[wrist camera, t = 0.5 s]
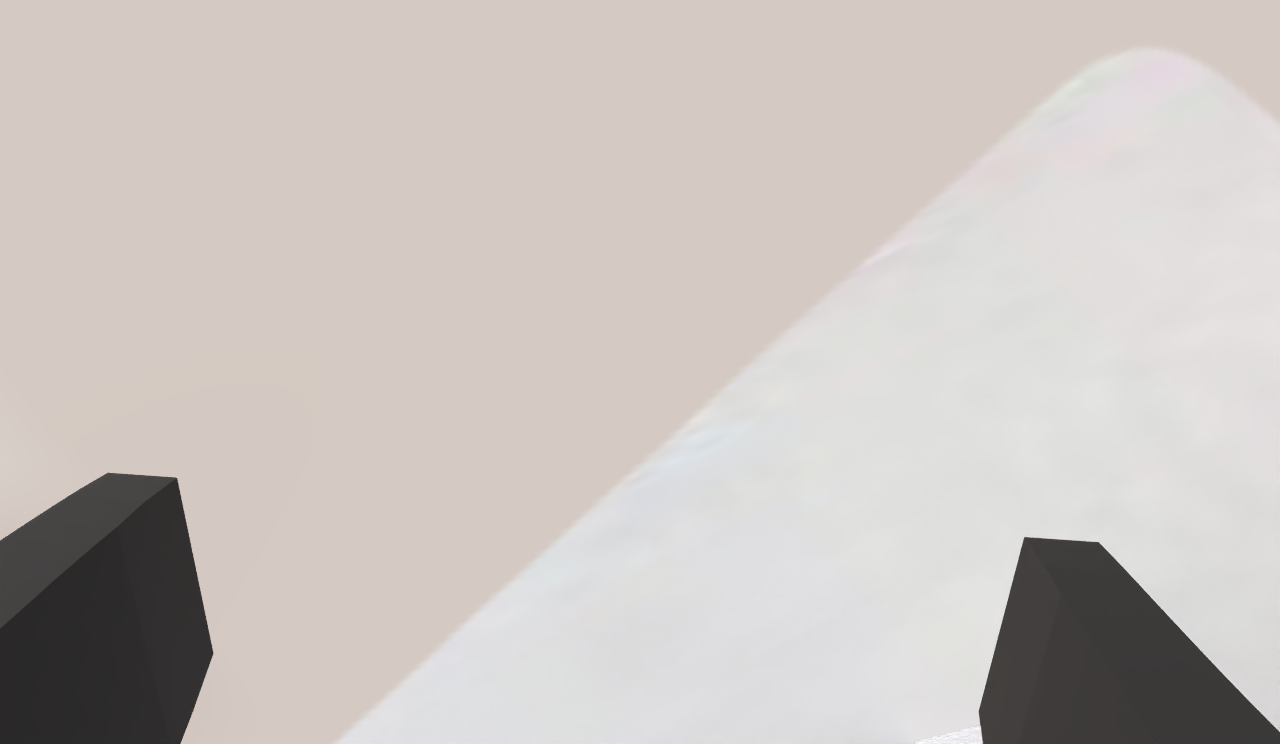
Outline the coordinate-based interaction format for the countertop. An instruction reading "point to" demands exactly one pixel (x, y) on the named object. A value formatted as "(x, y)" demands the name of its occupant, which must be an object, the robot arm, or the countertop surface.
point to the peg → (957, 737)
